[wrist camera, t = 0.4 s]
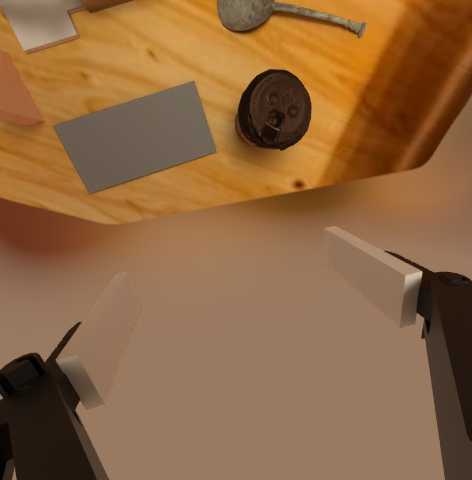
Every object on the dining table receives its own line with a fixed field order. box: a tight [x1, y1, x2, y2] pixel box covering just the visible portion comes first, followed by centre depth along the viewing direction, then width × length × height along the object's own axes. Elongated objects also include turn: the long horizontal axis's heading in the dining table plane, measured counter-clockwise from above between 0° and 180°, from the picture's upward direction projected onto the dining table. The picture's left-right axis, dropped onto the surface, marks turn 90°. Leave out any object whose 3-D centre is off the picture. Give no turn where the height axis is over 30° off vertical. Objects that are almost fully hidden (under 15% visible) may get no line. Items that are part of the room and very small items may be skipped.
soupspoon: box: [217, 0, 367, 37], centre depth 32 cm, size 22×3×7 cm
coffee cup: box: [235, 69, 311, 150], centre depth 31 cm, size 9×8×13 cm
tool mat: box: [53, 81, 216, 194], centre depth 35 cm, size 10×21×1 cm, turn 107°
